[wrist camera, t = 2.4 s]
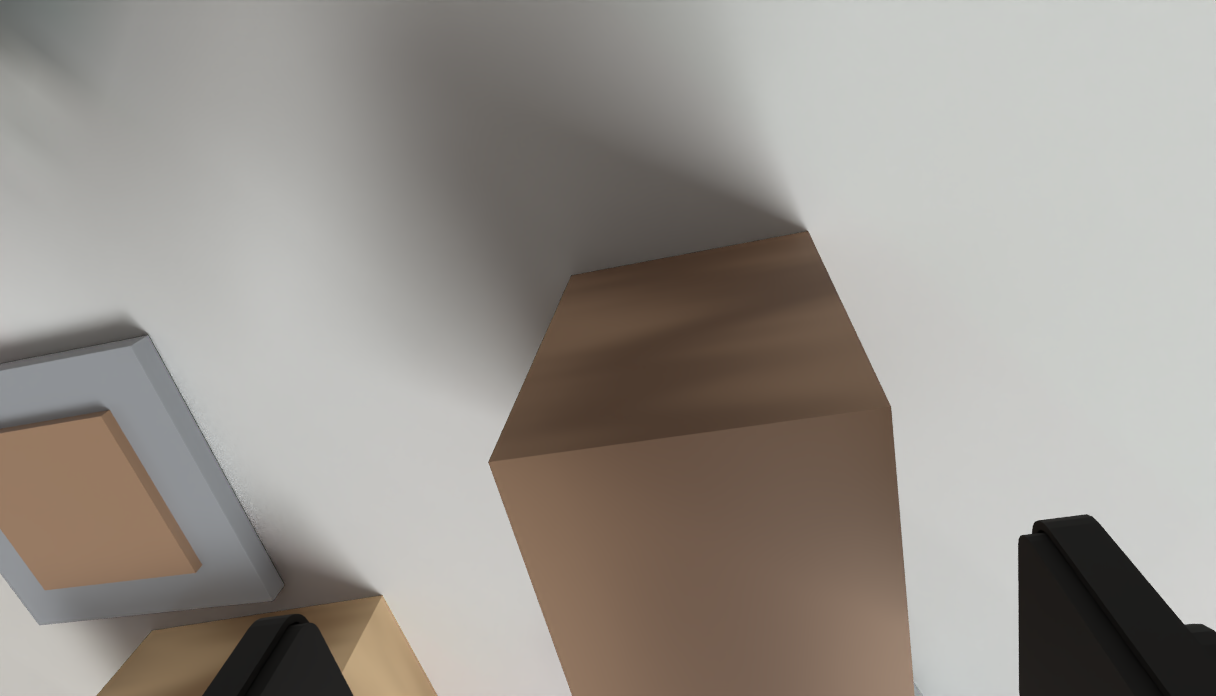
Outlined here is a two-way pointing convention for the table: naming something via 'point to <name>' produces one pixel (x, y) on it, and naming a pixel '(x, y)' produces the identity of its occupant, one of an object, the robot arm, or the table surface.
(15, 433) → the swatch tile
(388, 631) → the oak base
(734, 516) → the walnut block
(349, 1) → the table surface
